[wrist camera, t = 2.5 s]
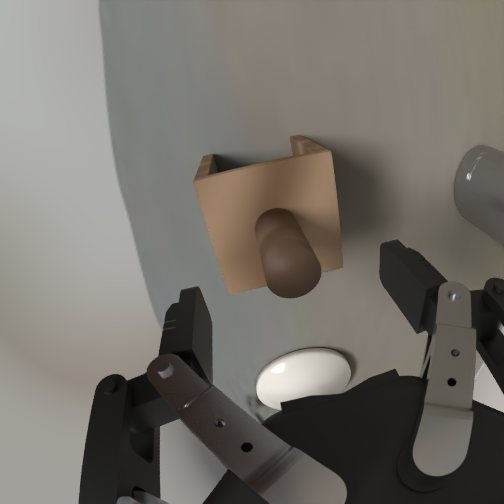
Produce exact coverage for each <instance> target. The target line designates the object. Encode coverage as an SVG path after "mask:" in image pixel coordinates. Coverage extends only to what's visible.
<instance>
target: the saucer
mask: <svg viewBox="0 0 504 504" xmlns="http://www.w3.org/2000/svg"><path fill="white" fill-rule="evenodd" d="M350 376H351V370H350V367H349V364H348V362H347V360H346V358H345V357H344V356H343V355H342V354H341V353H339V352H337V351H334V350H331V349H326V348H308V349H302V350H298V351H294V352H291V353H288V354H285V355H283V356H281V357H279V358H277V359H275V360H274V361H272V362H271V363H269V364H268V365H267V366H266V367H265V368H264V369H263V370H262V371H261V372H260V374H259V376H258V378H257V381H256V388H257V395H258V397H259V399H260V400H261V402H263V403H264V404H265V405H267V406H269V407H271V408H274V409H278V410H282V409H281V404H280V402H285V401H289V400H293V399H298V398H302V397H306V396H310V395H329V394H339V393H340V392H341V391H342V390H343V389H344V388H345V387H346V385H347V384H348V382H349V380H350Z"/></svg>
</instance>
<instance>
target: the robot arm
mask: <svg viewBox="0 0 504 504" xmlns="http://www.w3.org/2000/svg"><path fill="white" fill-rule="evenodd" d="M454 193H455V201H456V206H457V208H458V210H459V212H460V213H461V215H462V216H463V217H465V218H466V219H468V220H469V221H470V222H472V223H473V224H475V225H476V226H477V227H479V228H480V229H482V230H483V231H484V232H486V233H487V234H488V235H490V236H491V237H492V238H494V239H495V240H496V241H498V242H499V243H500V244H501V245H503V246H504V152H501V151H499V150H496V149H493V148H491V147H488V146H477V147H475V148H473V149H472V150H471V151H469V152H468V154H467V155H466V156H465V157H464V159H463V161H462V162H461V164H460V166H459V169H458V172H457V176H456V180H455V188H454ZM379 274H380V280H381V283H382V285H383V286H384V288H385V289H386V290H387V292H388V293H389V295H390V296H391V297H392V299H393V300H394V302H395V303H396V304H397V306H398V307H399V309H400V310H401V311H402V313H403V314H404V316H405V317H406V319H407V320H408V322H409V323H410V324H411V326H412V327H413V329H414V330H415V332H416V333H417V334H418V333H421V332H423V331H427V332H428V336H427V341H426V346H425V352H424V357H423V362H422V367H421V372H420V376H419V377H416V376H399V375H398V373H397V371H396V369H393V370H390V371H388V372H385V373H382V374H379V375H376V376H374V377H371V378H368V379H367V380H365V381H363V382H362V383H360V384H358V385H357V386H355V387H353V388H352V389H350V390H348V391H346V392H344V393H341V394H329V395H310V396H306V397H302V398H298V399H293V400H289V401H285V402H280V404H281V409H282V410H281V411H279V412H277V413H275V414H274V415H272V416H270V417H269V418H267V419H266V420H265V421H263V422H262V423H261V424H260V423H259V422H258V421H256V420H255V419H254V418H253V417H251V416H250V415H249V414H248V413H246V412H245V411H244V410H243V409H242V408H240V407H239V406H238V405H237V404H236V403H234V402H233V401H232V400H231V399H230V398H229V397H227V396H226V395H225V394H224V393H223V392H222V391H221V390H219V389H218V388H217V387H216V386H214V385H213V372H212V321H211V317H210V313H209V311H208V308H207V306H206V303H205V301H204V298H203V295H202V293H201V290H200V288H199V287H198V286H197V287H193V288H188V289H183V290H181V292H180V298H179V302H178V303H174V304H172V305H171V306H170V308H169V309H168V311H167V312H166V316H165V321H164V322H165V323H164V326H163V332H162V338H161V344H160V349H159V355H158V357H156V358H155V359H154V360H152V362H150V364H149V365H148V367H147V371H146V373H145V374H143V375H141V376H138V377H135V378H133V379H131V380H128V381H127V380H126V379H125V378H124V377H123V376H122V375H119V374H112V375H109V376H107V377H105V378H104V379H102V380H101V381H100V382H99V384H98V385H97V387H96V390H95V395H94V399H93V404H92V409H91V415H90V420H89V426H88V432H87V437H86V443H85V450H84V457H83V465H82V473H81V482H80V493H79V504H168V503H167V502H165V501H163V500H161V499H160V426H161V425H164V424H166V423H169V422H172V421H174V420H177V419H180V420H181V421H182V422H183V423H184V424H185V425H186V426H187V428H188V429H189V430H190V431H191V432H192V433H193V434H194V435H195V436H196V437H197V438H198V440H199V441H200V442H201V443H202V444H203V445H204V446H205V447H206V448H207V449H208V450H209V451H210V452H211V453H212V454H213V455H214V456H215V457H216V458H217V459H218V460H219V461H220V462H221V463H222V464H223V465H224V466H225V467H226V468H227V469H228V470H227V471H226V473H225V474H224V476H223V477H222V478H221V480H220V481H219V482H218V484H217V485H216V487H215V488H214V489H213V491H212V492H211V493H210V495H209V496H208V497H207V498H206V500H205V501H204V502H203V504H504V413H503V412H501V411H498V410H496V409H494V408H491V407H489V406H486V405H484V404H482V403H479V402H477V401H474V400H473V389H474V378H475V362H476V349H477V351H478V353H479V354H480V356H481V357H482V359H483V360H484V362H485V364H486V365H487V367H488V368H489V370H490V372H491V373H492V375H493V377H494V378H495V380H496V382H497V383H498V385H499V387H500V389H501V391H502V392H503V394H504V335H503V334H502V332H501V331H500V330H499V328H500V326H501V323H502V325H503V326H504V280H503V279H500V278H491V279H488V280H487V281H486V283H485V286H484V290H474V291H469V289H468V288H467V287H466V286H465V285H463V284H461V283H459V282H453V281H450V282H448V281H447V280H446V279H445V278H444V277H443V276H442V275H441V274H440V273H439V272H438V271H437V270H436V269H435V268H434V267H433V266H432V265H431V264H430V263H429V262H428V261H427V260H425V258H424V257H423V256H422V255H421V254H420V253H419V252H417V251H415V250H413V249H411V248H406V247H405V246H404V245H403V244H402V243H401V242H400V241H399V240H393V241H389V242H385V243H382V244H381V246H380V270H379Z"/></svg>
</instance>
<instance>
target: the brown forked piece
mask: <svg viewBox="0 0 504 504" xmlns="http://www.w3.org/2000/svg"><path fill="white" fill-rule="evenodd" d="M290 140H291V145H292V151H293V156H291V157H286V158H281V159H276V160H271V161H267V162H262V163H258V164H253V165H249V166H245V167H240V168H236V169H232V170H228V171H224V172H220V173H218V171H217V167H216V164H215V160H214V156H213V154H210V155H206V156H203V159H202V161H201V164H200V166H199V169H198V171H197V174H196V176H195V179H194V186H195V189H196V192H197V196H198V199H199V202H200V206H201V209H202V212H203V216H204V219H205V222H206V225H207V229H208V232H209V235H210V238H211V241H212V244H213V248H214V251H215V254H216V257H217V260H218V263H219V266H220V269H221V272H222V276H223V279H224V282H225V285H226V288H227V291H228V294H234V293H238V292H243V291H247V290H252V289H256V288H260V287H265V286H268V288H269V289H270V290H271V291H272V292H273V293H274V294H276V295H277V296H280V297H283V298H297V297H300V296H303V295H305V294H307V293H309V292H310V291H311V290H312V289H314V287H315V286H316V285H317V284H318V282H319V280H320V277H321V273H323V272H327V271H331V270H335V269H339V268H343V258H342V244H341V232H340V220H339V210H338V201H337V192H336V183H335V175H334V168H333V160H332V153H331V151H330V150H328V149H326V148H324V147H322V146H320V145H318V144H316V143H314V142H312V141H310V140H308V139H306V138H304V137H302V136H300V135H296V136H291V137H290Z"/></svg>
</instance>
